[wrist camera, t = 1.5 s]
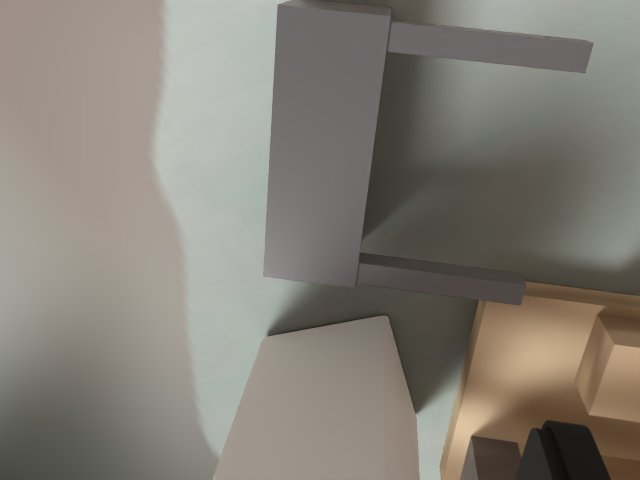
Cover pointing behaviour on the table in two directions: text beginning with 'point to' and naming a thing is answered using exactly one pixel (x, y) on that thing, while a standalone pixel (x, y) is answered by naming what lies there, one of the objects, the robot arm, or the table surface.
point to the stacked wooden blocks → (547, 380)
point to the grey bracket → (364, 141)
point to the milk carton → (325, 409)
